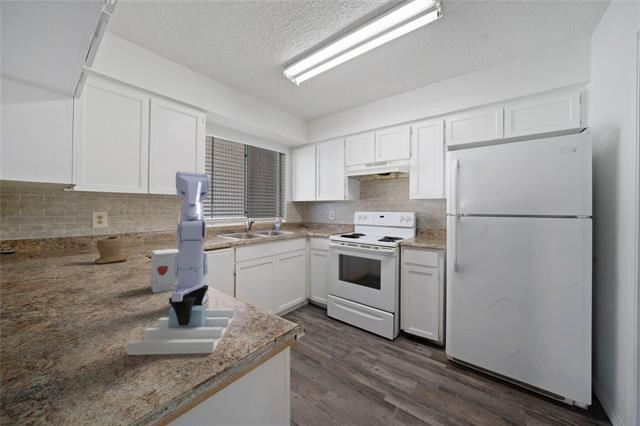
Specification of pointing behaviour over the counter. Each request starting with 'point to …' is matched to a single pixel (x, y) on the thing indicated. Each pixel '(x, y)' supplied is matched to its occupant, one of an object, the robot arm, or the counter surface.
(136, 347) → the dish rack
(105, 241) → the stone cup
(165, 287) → the supplement box
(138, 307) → the counter surface
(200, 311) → the blue block
